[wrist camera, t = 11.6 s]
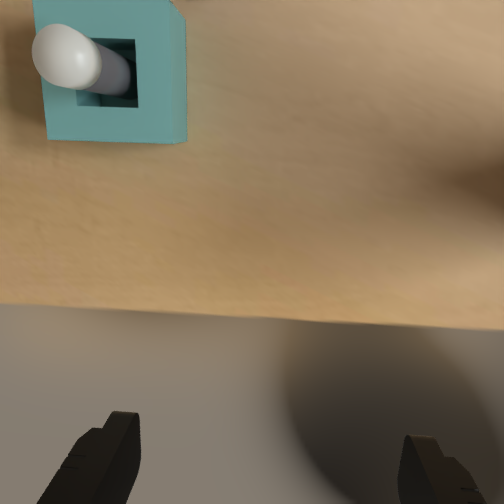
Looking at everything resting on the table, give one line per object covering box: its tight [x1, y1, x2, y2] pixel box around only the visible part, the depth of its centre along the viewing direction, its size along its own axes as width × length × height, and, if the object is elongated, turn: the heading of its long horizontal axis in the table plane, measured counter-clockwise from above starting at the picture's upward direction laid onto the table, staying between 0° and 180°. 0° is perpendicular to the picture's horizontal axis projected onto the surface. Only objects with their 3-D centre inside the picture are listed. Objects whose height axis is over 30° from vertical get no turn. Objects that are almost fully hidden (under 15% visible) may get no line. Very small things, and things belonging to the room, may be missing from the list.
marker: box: [32, 24, 138, 100], centre depth 30 cm, size 3×3×12 cm
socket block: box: [32, 0, 187, 144], centre depth 34 cm, size 10×10×6 cm
